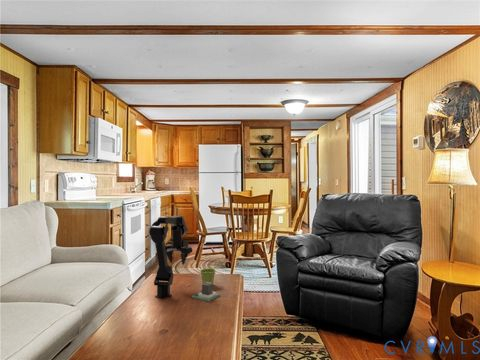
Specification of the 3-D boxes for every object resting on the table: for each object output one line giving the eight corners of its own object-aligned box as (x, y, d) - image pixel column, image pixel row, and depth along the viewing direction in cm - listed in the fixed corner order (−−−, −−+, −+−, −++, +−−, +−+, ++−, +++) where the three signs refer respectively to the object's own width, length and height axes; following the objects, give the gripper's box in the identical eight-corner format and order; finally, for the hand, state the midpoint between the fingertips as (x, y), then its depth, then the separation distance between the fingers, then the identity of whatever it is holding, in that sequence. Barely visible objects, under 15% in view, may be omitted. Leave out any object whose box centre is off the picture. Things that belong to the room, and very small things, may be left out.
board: (208, 301, 180) (208, 297, 180) (191, 297, 185) (191, 293, 185) (219, 295, 188) (219, 291, 188) (203, 292, 194) (203, 288, 194)
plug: (208, 296, 184) (208, 284, 184) (202, 295, 186) (202, 283, 186) (212, 294, 187) (212, 282, 187) (206, 293, 189) (206, 281, 189)
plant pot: (198, 283, 210) (198, 269, 210) (213, 282, 213) (213, 267, 213) (201, 288, 201) (201, 273, 201) (217, 286, 204) (217, 271, 204)
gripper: (198, 236, 208) (198, 262, 208) (174, 233, 218) (174, 259, 218) (186, 239, 198) (186, 266, 199) (161, 236, 208) (161, 262, 208)
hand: (177, 263), depth 206 cm, fingers open, 9 cm apart
